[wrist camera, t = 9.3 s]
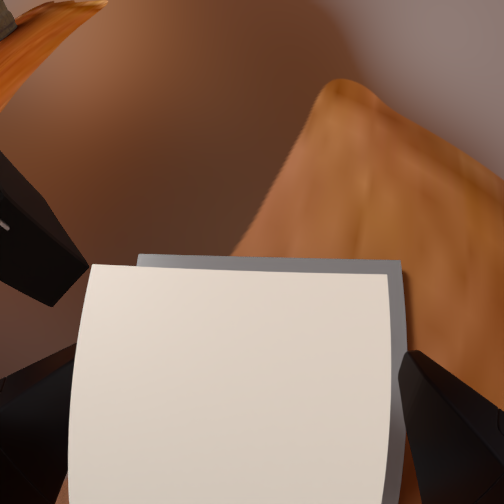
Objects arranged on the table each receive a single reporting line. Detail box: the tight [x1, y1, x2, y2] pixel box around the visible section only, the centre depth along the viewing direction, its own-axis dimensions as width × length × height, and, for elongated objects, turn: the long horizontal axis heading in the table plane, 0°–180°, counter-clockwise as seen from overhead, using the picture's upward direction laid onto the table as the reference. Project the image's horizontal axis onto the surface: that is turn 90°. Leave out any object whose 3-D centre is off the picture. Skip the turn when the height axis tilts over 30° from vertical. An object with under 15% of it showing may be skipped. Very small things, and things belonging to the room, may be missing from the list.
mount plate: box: [137, 254, 407, 504], centre depth 15 cm, size 16×16×3 cm
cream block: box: [68, 264, 391, 504], centre depth 10 cm, size 4×4×13 cm
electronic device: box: [0, 151, 89, 307], centre depth 17 cm, size 4×10×10 cm, turn 47°
